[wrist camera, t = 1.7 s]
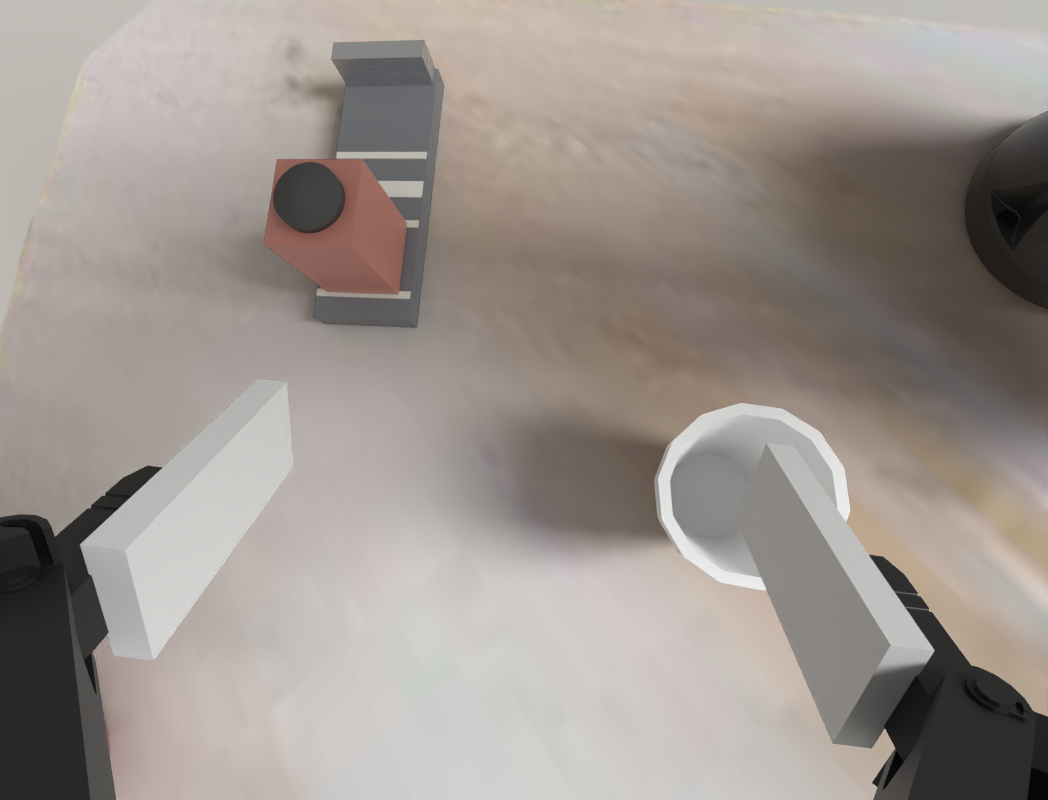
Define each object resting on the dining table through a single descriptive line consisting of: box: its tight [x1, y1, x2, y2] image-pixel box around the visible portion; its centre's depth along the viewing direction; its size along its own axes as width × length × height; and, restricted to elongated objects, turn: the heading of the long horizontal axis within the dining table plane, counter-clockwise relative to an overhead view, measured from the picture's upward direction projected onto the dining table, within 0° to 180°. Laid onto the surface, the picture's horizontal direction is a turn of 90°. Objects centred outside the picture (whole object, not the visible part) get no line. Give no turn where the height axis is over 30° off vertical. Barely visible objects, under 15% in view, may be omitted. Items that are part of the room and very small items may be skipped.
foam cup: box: [654, 403, 850, 590], centre depth 36 cm, size 10×9×13 cm
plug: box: [264, 159, 407, 294], centre depth 42 cm, size 6×6×10 cm
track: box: [313, 40, 444, 327], centre depth 47 cm, size 22×8×5 cm, turn 175°
